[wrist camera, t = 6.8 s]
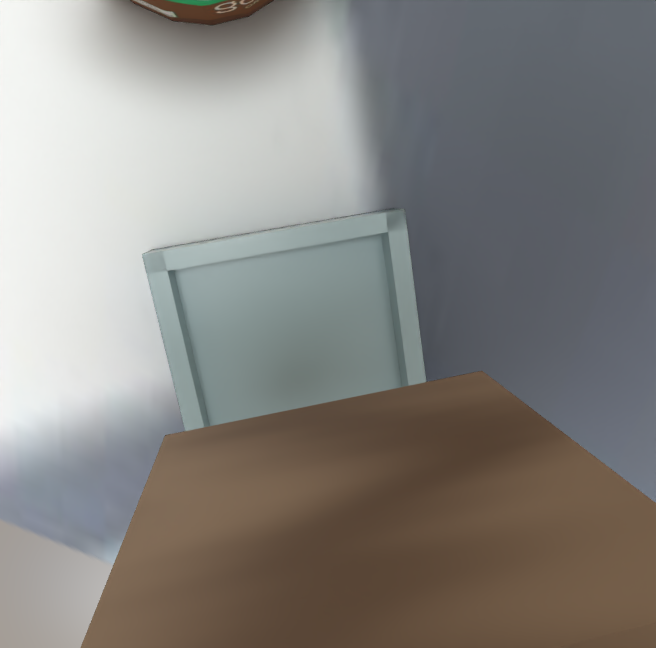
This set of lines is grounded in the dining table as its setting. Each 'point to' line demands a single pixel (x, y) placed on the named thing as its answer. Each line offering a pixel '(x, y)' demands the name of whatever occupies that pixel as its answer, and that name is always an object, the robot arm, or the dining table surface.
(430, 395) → the cube
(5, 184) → the dining table surface
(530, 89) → the dining table surface
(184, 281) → the tray
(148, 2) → the food container
